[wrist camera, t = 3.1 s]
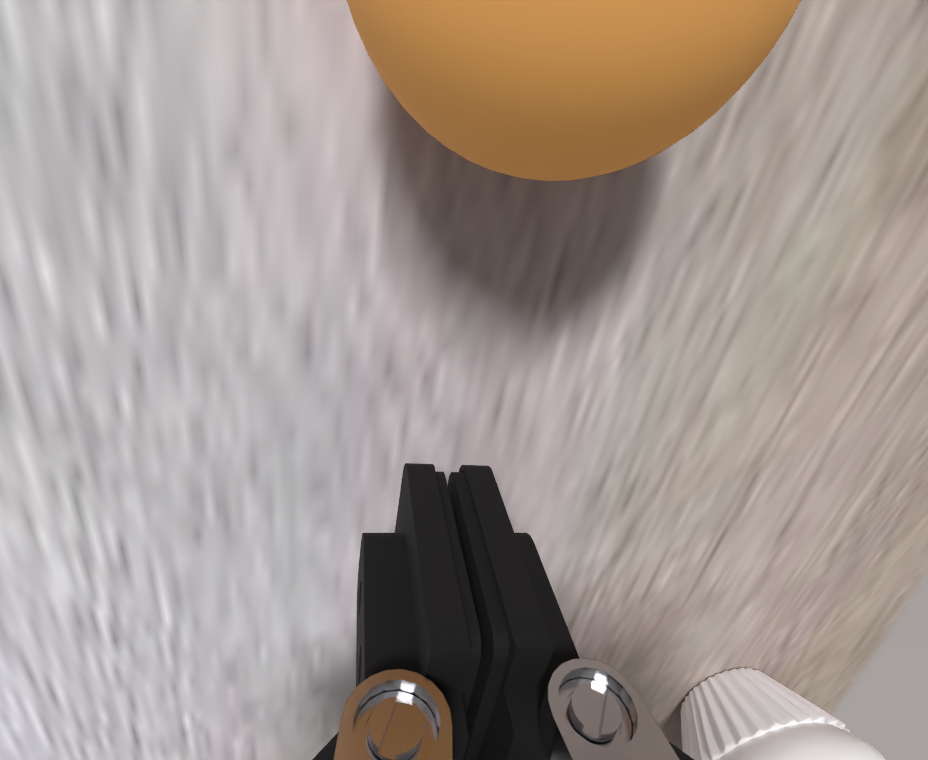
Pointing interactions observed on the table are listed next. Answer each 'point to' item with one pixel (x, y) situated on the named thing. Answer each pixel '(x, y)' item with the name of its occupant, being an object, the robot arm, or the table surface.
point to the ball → (565, 74)
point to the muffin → (762, 723)
